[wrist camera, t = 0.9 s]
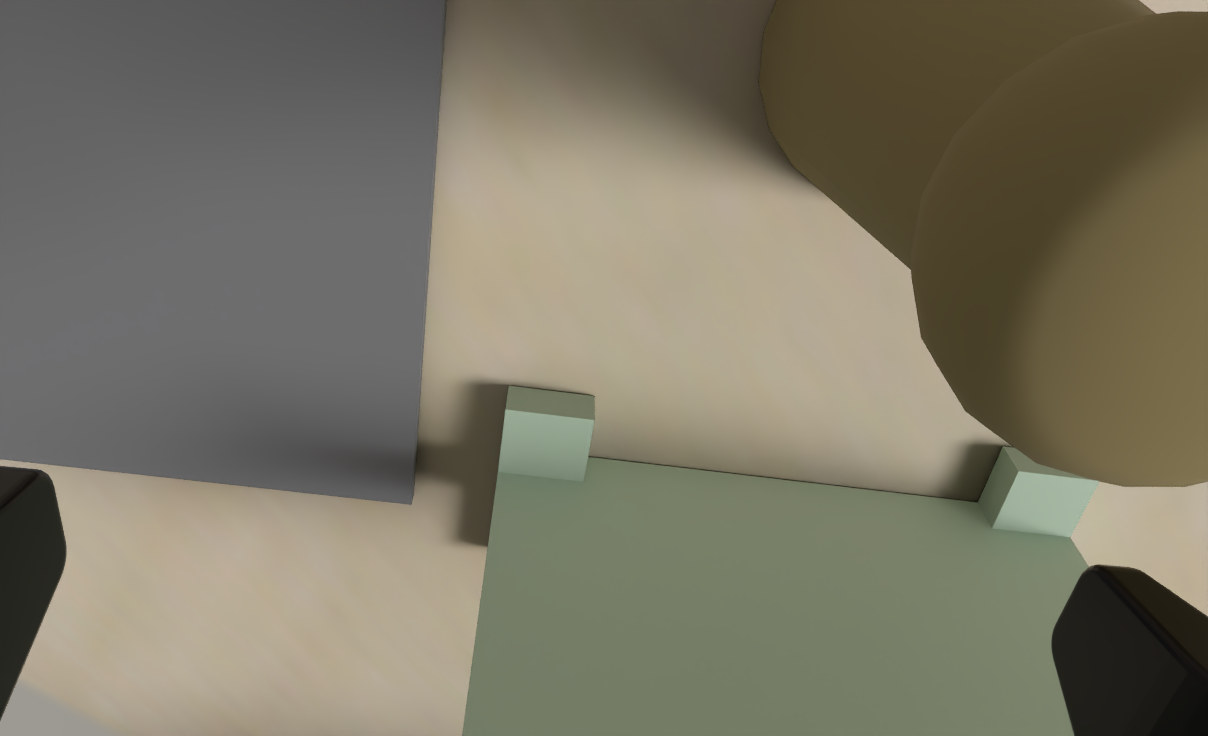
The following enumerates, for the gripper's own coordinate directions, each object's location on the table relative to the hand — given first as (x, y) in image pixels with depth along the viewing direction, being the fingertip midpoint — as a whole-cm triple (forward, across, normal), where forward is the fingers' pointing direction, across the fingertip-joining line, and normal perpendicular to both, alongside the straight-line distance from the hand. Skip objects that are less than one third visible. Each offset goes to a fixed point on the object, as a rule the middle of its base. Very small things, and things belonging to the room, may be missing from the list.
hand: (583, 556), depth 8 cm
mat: (+12, +9, +4) cm, 16 cm away
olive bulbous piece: (+13, -6, -2) cm, 14 cm away
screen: (+12, -6, +9) cm, 16 cm away
